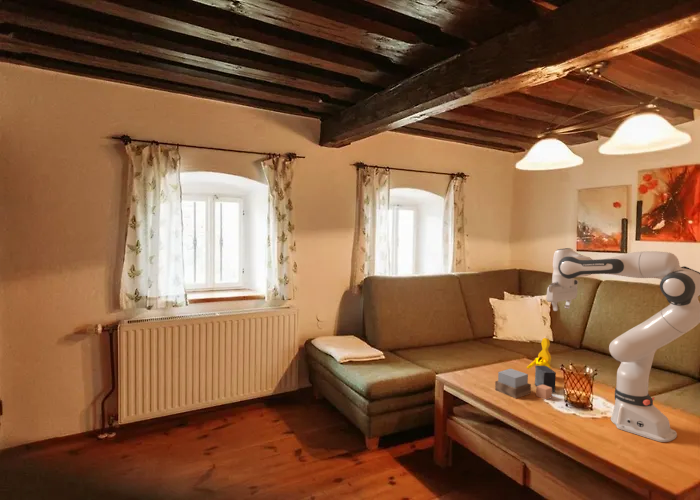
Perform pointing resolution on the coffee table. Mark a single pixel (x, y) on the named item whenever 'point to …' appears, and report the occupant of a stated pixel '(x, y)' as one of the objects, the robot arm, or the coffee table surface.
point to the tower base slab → (513, 389)
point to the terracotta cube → (544, 391)
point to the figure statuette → (542, 355)
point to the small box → (545, 376)
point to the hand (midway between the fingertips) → (561, 309)
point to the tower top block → (513, 378)
